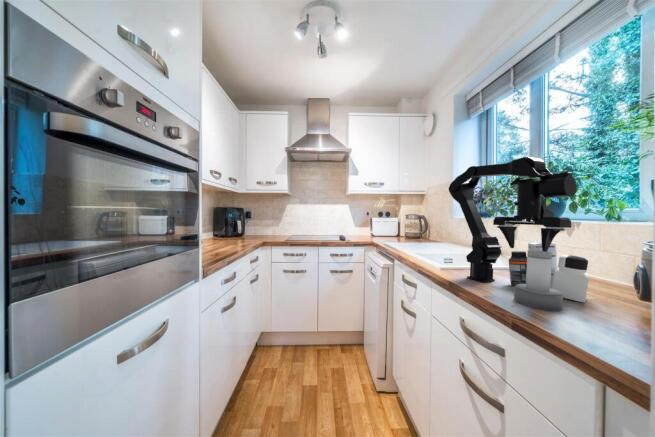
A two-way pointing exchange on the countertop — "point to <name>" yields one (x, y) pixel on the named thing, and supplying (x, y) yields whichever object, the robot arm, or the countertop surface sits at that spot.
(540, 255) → the white and grey cylinder
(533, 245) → the syrup box
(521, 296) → the charcoal stand
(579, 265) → the medicine bottle
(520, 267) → the supplement bottle
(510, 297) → the countertop surface
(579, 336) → the countertop surface
